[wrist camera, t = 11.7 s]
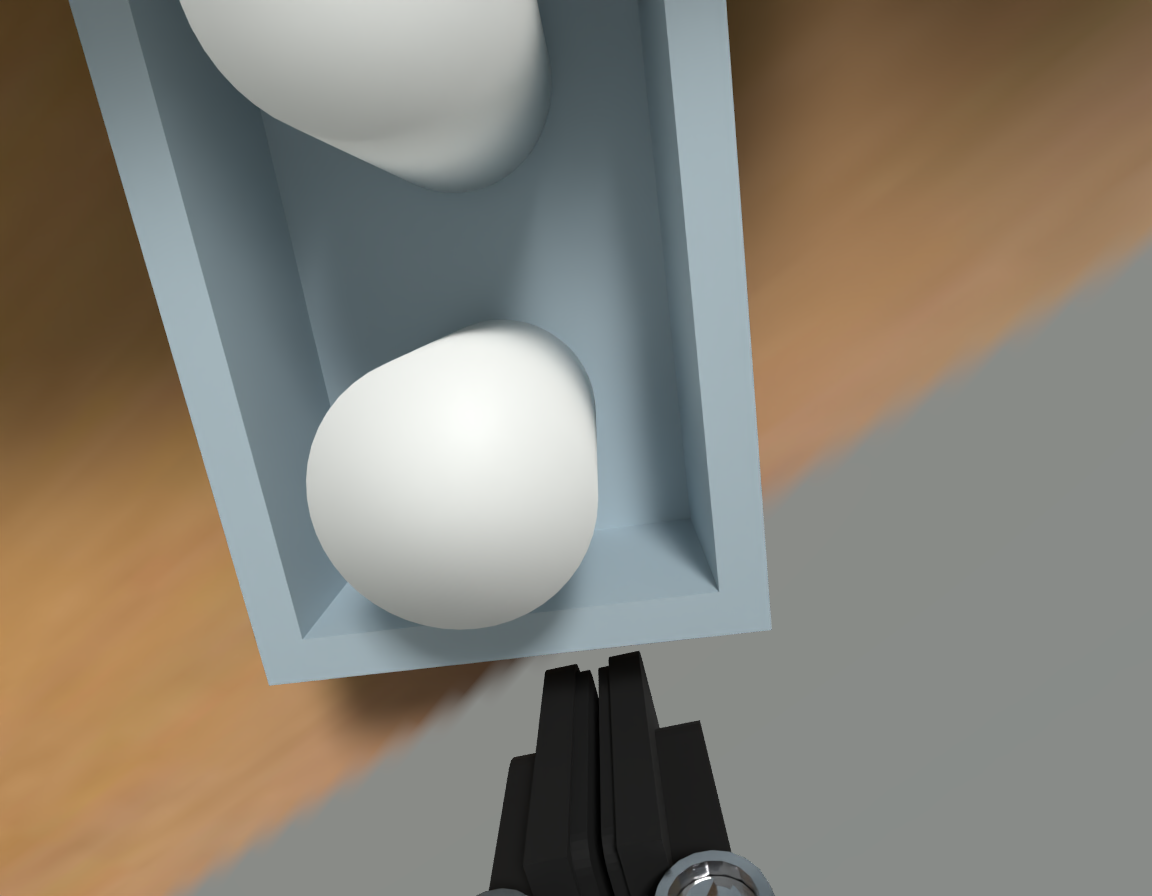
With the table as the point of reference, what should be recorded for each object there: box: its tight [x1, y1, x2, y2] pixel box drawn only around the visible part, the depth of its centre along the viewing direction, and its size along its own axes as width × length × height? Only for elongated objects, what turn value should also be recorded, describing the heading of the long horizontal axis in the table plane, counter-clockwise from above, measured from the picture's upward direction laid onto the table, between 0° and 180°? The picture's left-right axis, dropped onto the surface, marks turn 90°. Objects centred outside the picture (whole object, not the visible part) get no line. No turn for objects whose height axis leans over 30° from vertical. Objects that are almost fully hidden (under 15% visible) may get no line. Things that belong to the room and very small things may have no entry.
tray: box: [69, 0, 772, 686], centre depth 8 cm, size 6×10×5 cm, turn 8°
